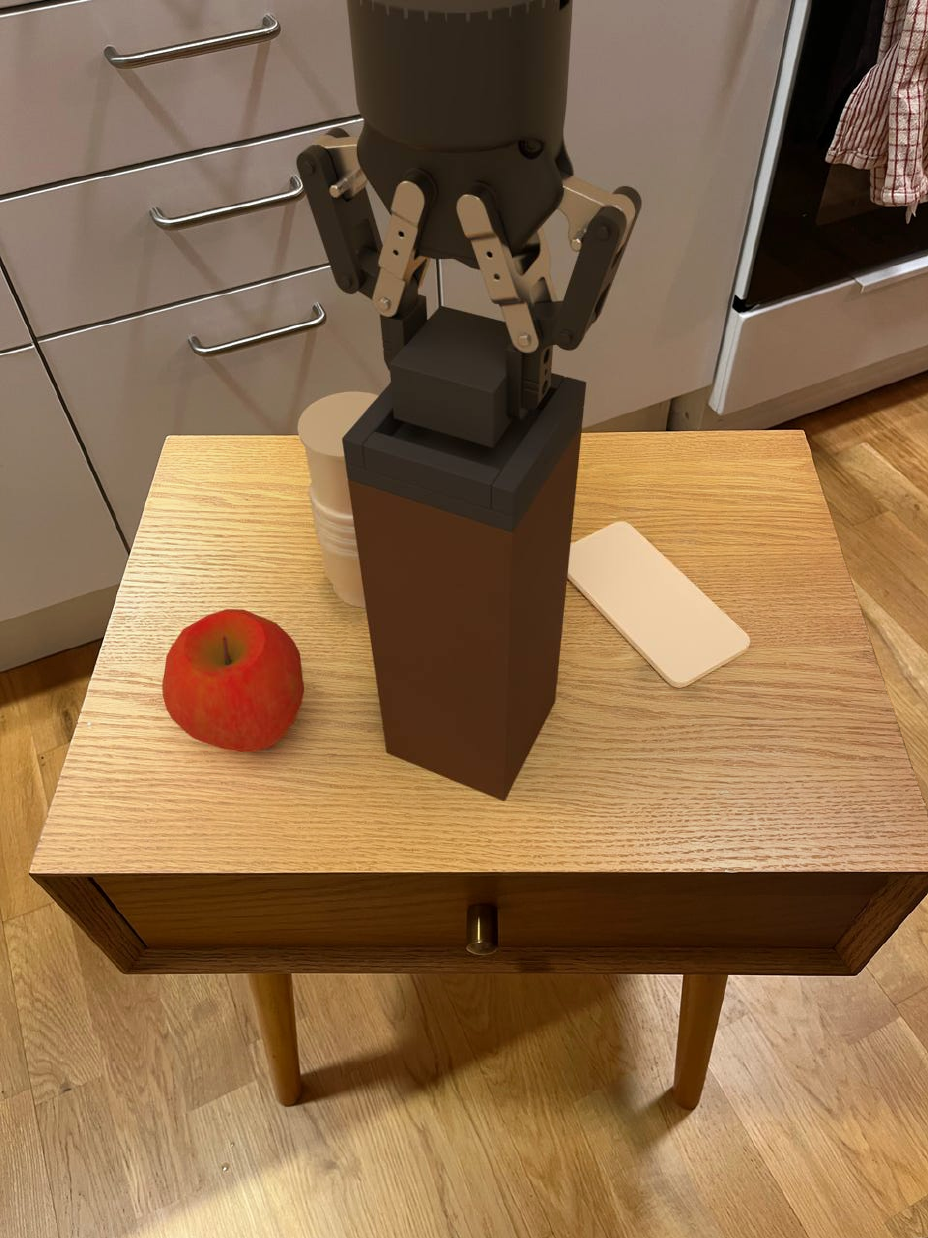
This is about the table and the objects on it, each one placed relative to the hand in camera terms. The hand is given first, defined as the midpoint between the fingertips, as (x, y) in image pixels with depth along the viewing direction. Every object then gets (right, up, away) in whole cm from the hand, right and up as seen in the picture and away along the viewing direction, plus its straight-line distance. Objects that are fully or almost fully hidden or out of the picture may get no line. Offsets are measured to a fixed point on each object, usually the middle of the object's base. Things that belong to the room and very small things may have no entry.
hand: (466, 391), depth 44 cm
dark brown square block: (0, 0, +1) cm, 1 cm away
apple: (-14, -19, +21) cm, 31 cm away
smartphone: (+14, -9, +28) cm, 32 cm away
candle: (-7, -8, +30) cm, 32 cm away
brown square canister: (0, -18, +21) cm, 27 cm away
